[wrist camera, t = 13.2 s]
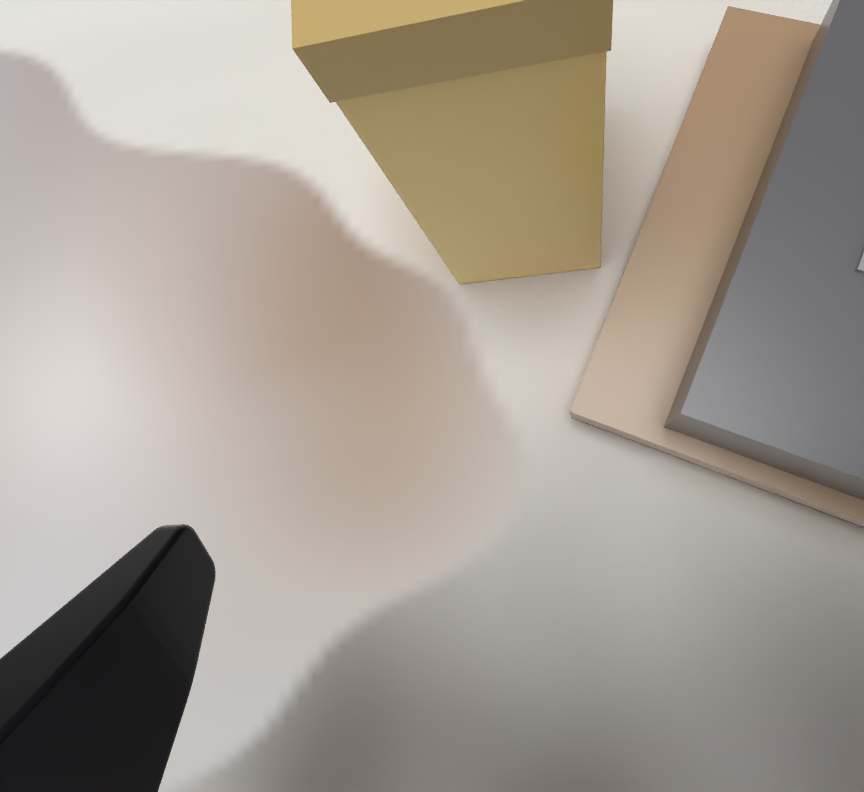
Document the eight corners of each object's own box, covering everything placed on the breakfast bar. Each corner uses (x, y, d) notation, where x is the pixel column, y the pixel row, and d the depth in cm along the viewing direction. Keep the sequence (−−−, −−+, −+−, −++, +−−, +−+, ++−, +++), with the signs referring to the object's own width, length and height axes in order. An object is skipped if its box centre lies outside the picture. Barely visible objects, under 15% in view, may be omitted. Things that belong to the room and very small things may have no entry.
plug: (602, 269, 17) (613, -18, 7) (457, 286, 18) (293, 49, 8) (587, 102, 18) (579, -370, 8) (448, 125, 19) (283, -277, 9)
